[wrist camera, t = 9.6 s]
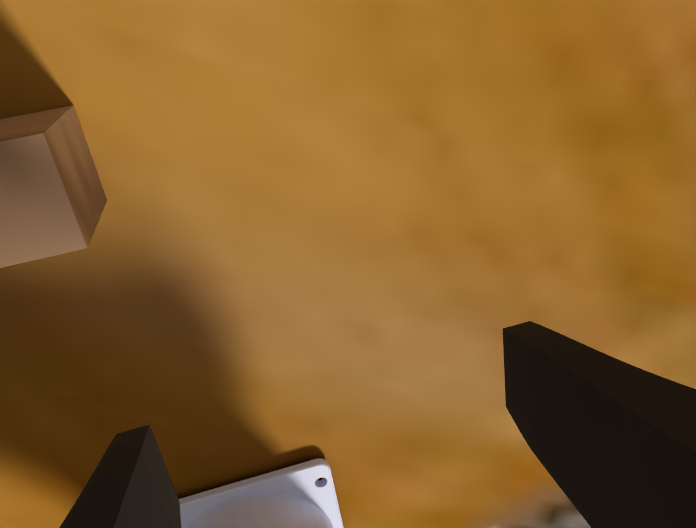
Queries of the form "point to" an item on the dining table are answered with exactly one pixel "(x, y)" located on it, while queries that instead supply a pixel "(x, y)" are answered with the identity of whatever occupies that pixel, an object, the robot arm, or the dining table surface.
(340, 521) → the robot arm
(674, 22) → the dining table surface
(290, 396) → the dining table surface
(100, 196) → the walnut rail
